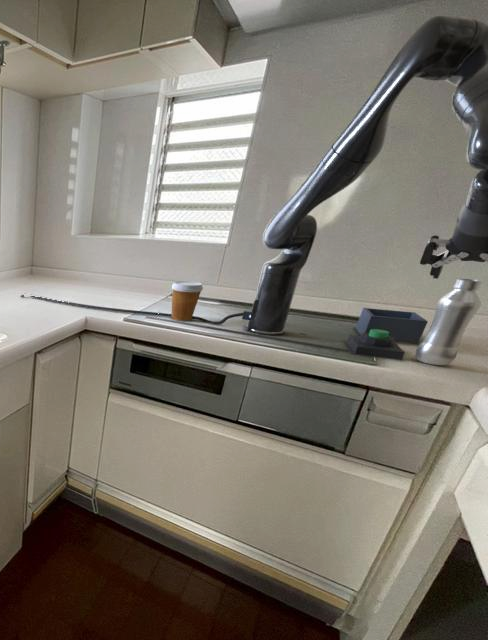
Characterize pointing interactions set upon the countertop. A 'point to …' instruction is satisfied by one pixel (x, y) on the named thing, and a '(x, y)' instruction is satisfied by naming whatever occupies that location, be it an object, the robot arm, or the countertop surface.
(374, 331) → the button
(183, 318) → the disposable coffee cup
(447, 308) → the silver metal bottle
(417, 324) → the basket
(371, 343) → the control block
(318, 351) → the countertop surface
